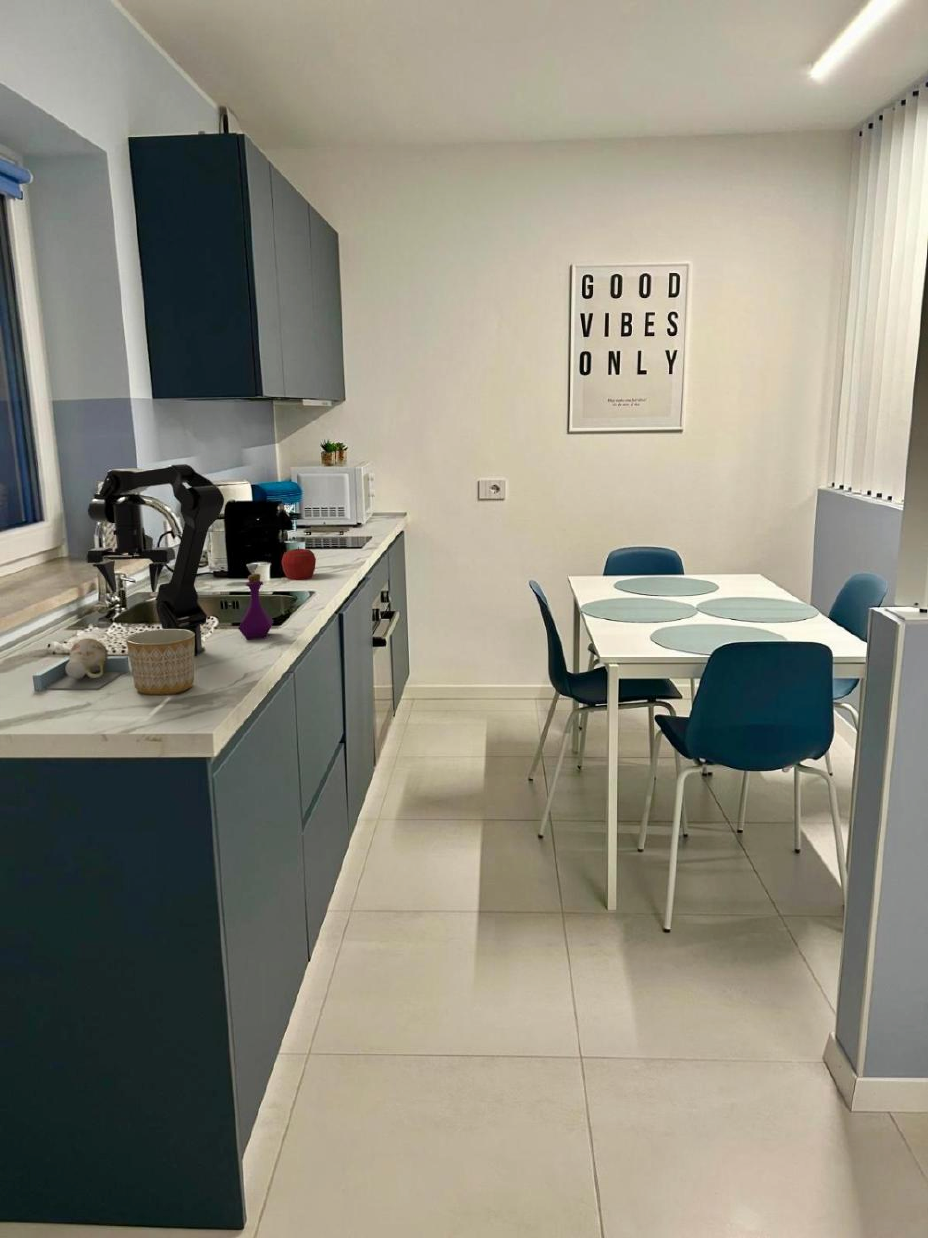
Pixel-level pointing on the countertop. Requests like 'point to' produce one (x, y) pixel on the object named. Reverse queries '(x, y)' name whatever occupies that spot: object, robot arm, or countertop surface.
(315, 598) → the countertop surface
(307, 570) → the apple
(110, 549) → the robot arm
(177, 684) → the planter
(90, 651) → the mug
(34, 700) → the countertop surface
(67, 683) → the mat
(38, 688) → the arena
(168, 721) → the countertop surface
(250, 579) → the perfume bottle
